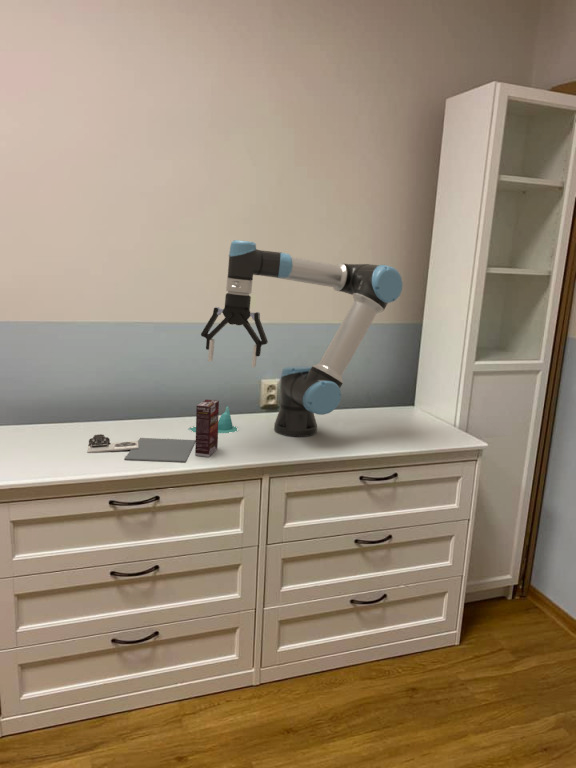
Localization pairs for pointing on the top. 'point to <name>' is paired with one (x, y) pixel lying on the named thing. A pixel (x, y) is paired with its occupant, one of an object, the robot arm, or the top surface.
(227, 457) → the top surface
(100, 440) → the car cutout
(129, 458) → the mat
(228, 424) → the diorama
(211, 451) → the supplement box
